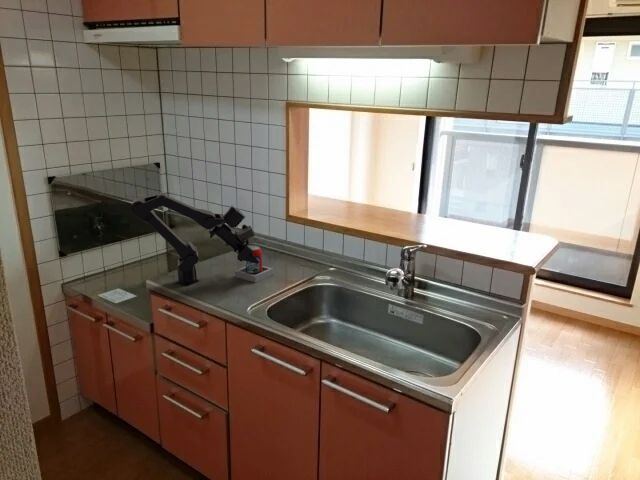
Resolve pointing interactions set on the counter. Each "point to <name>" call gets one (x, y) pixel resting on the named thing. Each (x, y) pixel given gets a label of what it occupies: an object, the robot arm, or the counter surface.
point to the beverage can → (253, 267)
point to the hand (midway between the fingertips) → (257, 259)
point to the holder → (254, 278)
